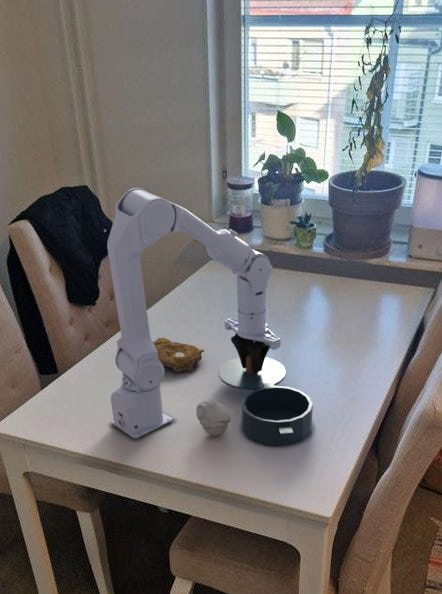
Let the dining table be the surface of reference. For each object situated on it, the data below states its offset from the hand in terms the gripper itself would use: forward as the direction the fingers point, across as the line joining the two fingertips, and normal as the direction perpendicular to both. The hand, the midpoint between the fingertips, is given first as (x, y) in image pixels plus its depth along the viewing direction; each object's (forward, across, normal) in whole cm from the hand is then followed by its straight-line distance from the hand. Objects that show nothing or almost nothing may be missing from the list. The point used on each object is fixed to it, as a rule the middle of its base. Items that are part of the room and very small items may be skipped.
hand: (252, 368), depth 143 cm
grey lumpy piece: (+4, -8, +18) cm, 20 cm away
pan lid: (+1, 0, 0) cm, 1 cm away
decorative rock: (+4, +22, +5) cm, 23 cm away
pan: (+4, -15, +8) cm, 18 cm away
